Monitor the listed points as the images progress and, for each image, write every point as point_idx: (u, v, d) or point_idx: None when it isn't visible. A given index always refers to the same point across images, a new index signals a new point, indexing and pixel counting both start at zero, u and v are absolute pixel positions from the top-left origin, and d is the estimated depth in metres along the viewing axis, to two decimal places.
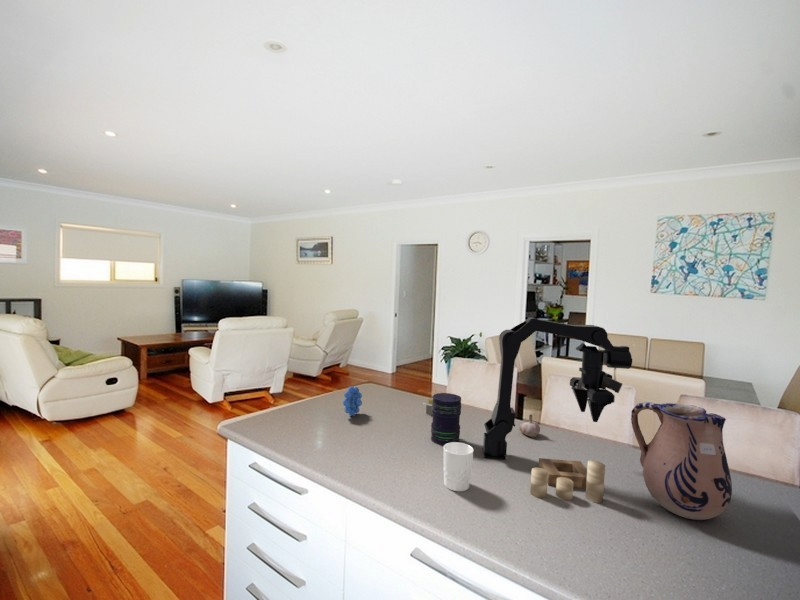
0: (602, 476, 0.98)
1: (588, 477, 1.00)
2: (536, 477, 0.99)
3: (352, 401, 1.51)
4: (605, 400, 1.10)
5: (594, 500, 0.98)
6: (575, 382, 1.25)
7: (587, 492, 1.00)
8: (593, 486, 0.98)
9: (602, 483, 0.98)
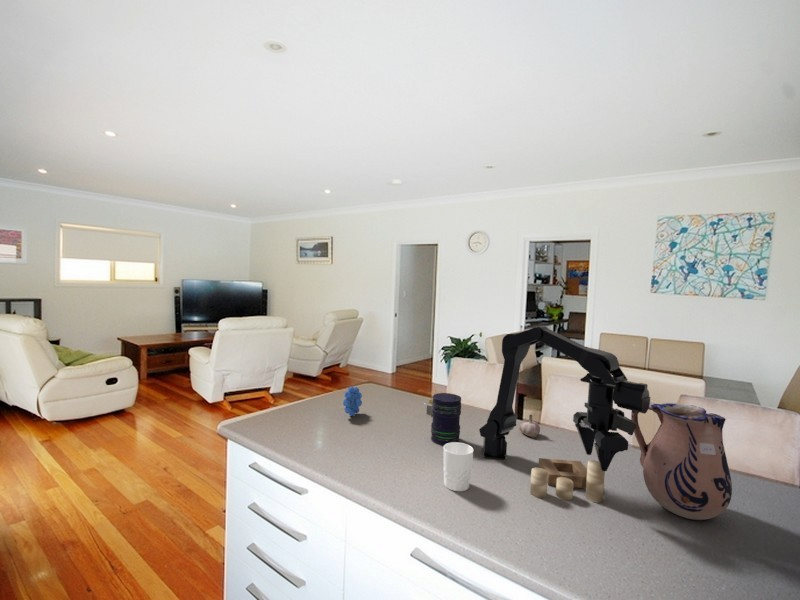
0: (602, 476, 0.98)
1: (588, 477, 1.00)
2: (535, 477, 0.99)
3: (352, 401, 1.51)
4: (617, 447, 0.90)
5: (594, 500, 0.98)
6: (579, 419, 1.05)
7: (587, 492, 1.00)
8: (593, 486, 0.98)
9: (602, 483, 0.98)
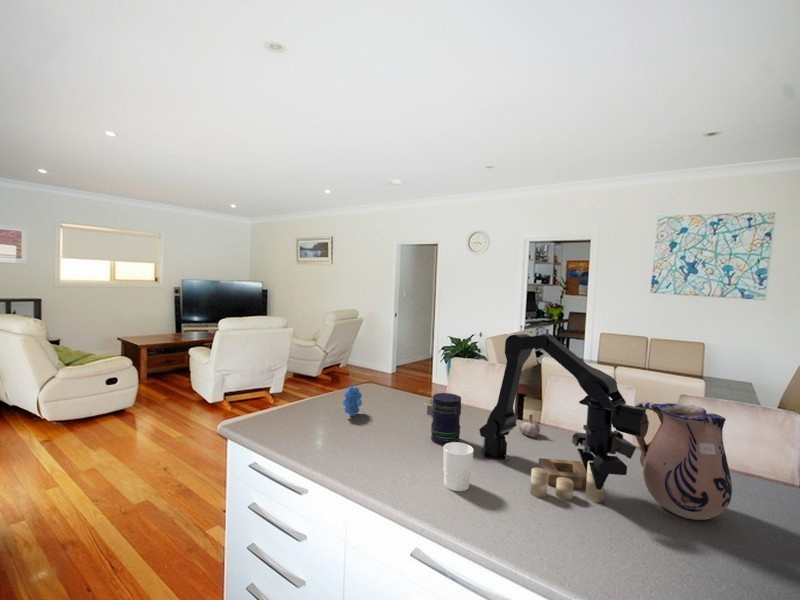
0: None
1: (588, 477, 1.00)
2: (535, 477, 0.99)
3: (352, 401, 1.51)
4: (615, 472, 0.90)
5: (594, 500, 0.98)
6: (578, 440, 1.05)
7: (587, 492, 1.00)
8: (593, 486, 0.98)
9: None
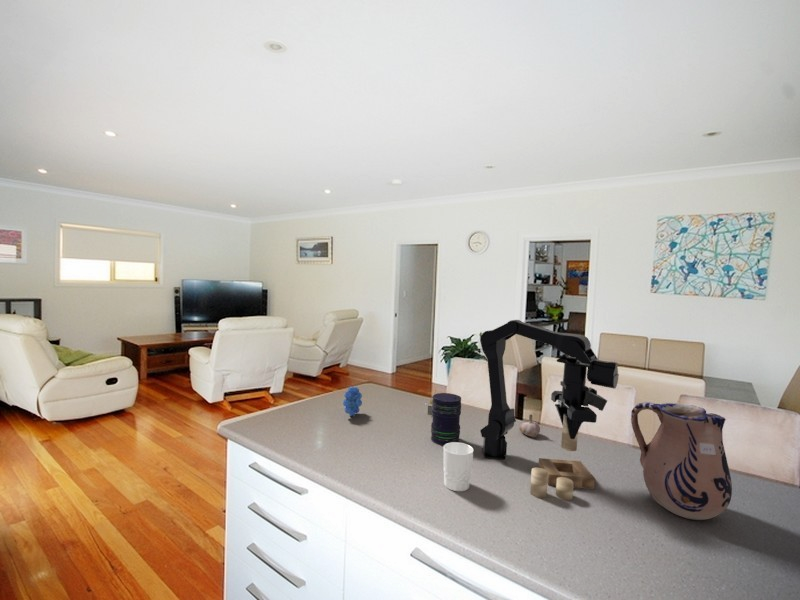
0: None
1: (563, 428, 1.08)
2: (536, 477, 0.99)
3: (352, 401, 1.51)
4: (586, 419, 0.99)
5: (568, 449, 1.07)
6: (556, 396, 1.14)
7: (562, 442, 1.09)
8: (567, 436, 1.07)
9: None
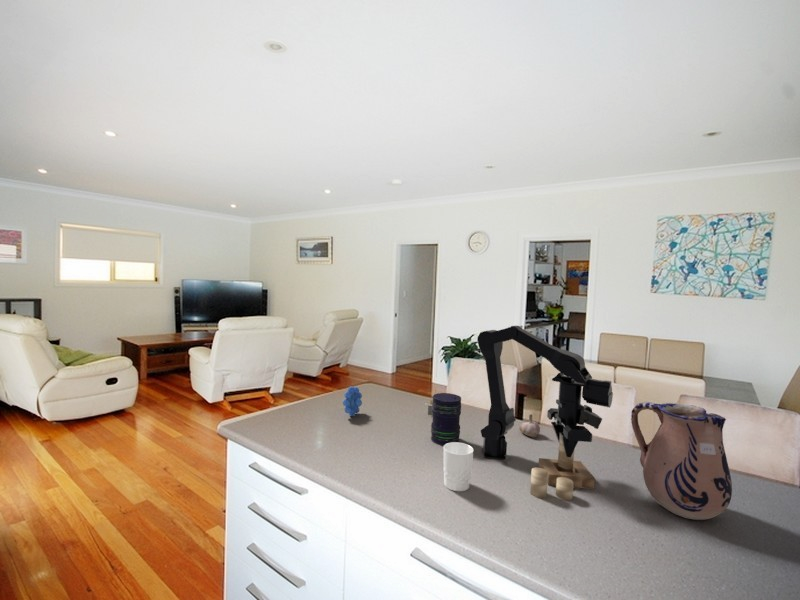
0: None
1: (560, 446, 1.10)
2: (535, 477, 0.99)
3: (352, 401, 1.51)
4: (581, 439, 1.00)
5: (565, 467, 1.08)
6: (552, 414, 1.15)
7: (559, 460, 1.10)
8: (564, 454, 1.08)
9: None
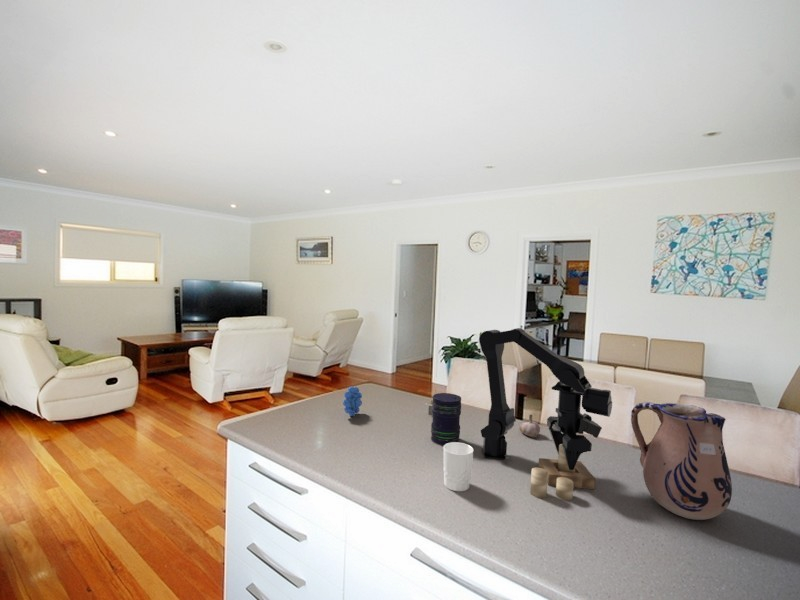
0: None
1: (559, 458, 1.10)
2: (535, 477, 0.99)
3: (352, 401, 1.51)
4: (581, 448, 1.00)
5: None
6: (552, 423, 1.15)
7: None
8: (563, 466, 1.09)
9: None
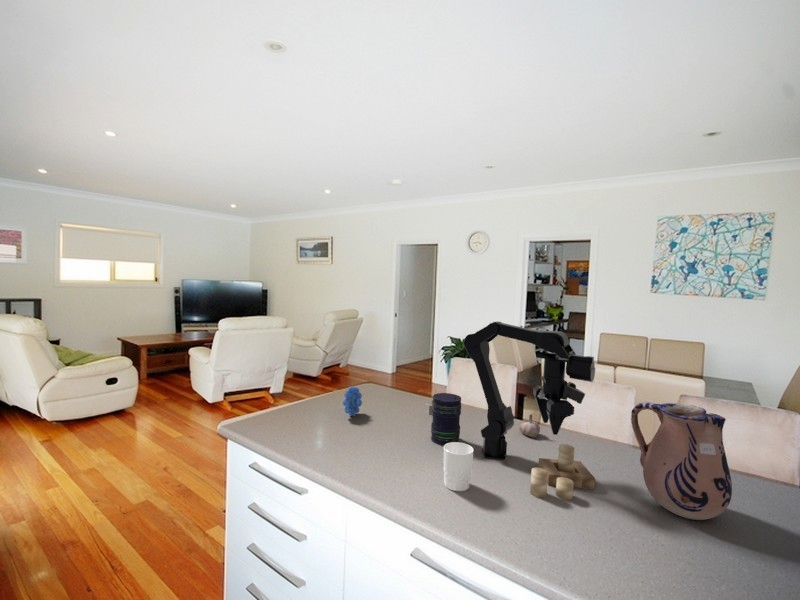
0: (571, 457, 1.08)
1: (559, 458, 1.10)
2: (535, 477, 0.99)
3: (352, 401, 1.51)
4: (564, 412, 1.03)
5: None
6: (538, 391, 1.18)
7: None
8: (563, 466, 1.09)
9: (571, 463, 1.08)
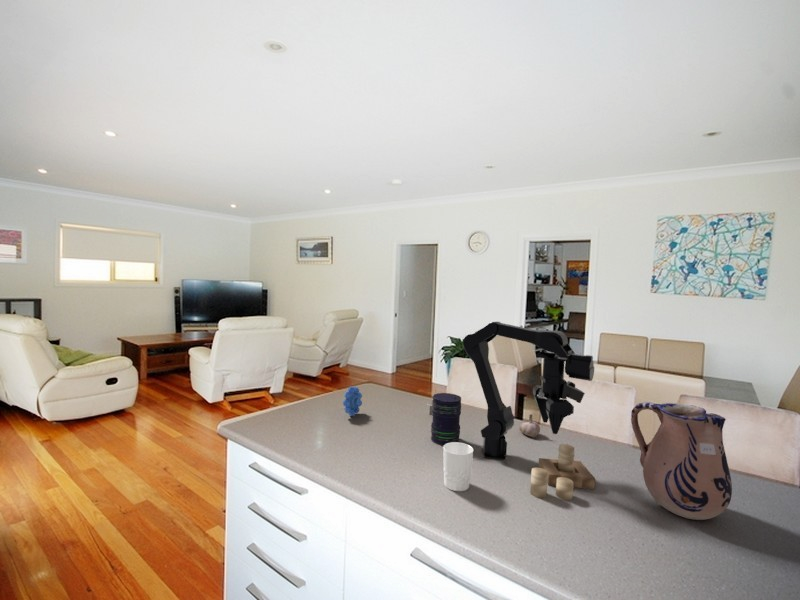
0: (571, 457, 1.08)
1: (559, 458, 1.10)
2: (536, 477, 0.99)
3: (352, 401, 1.51)
4: (563, 411, 1.03)
5: None
6: (537, 391, 1.18)
7: None
8: (563, 466, 1.09)
9: (571, 463, 1.08)
